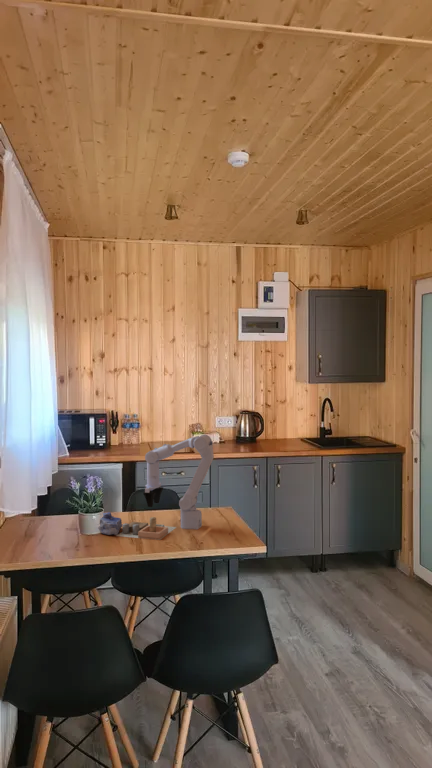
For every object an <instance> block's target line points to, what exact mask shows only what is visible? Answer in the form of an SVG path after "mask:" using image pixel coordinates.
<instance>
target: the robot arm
mask: <svg viewBox="0 0 432 768" xmlns="http://www.w3.org/2000/svg"><path fill="white" fill-rule="evenodd" d="M185 448H186V449H187V448H191V449H195V450H196V451H197V452H198V453H199V454H200V457H201V459H200V460H199V461H200V463H199V464H198V466H197V468H196V470H195V473H194V475H193V477H192V479H191V482H190V483H189V485H188V488H187V489H186V491H185V493H184V495H183V496H182V497H181V498H180V499H179V500H178V506H179V509H180V528H181V529H183V530H199V529H200V528H201V527H202V524H203V523H202V520H203V519H202V518H203V517H202V511H201V509H197V507H196V504H197V503H198V496H199V491H200V488H201V486H202V484H203V482H204V481H205V477H206V476H207V473H208V472H209V469H210V467H211V464H212V462H213V460H214V454H215V453H214V443H213V441H212V438H211V437H210V435H208V434H201V435H198V436H197V435H196V436H193V437H189V438H186V439H184V440H182V441H180V442H177V443H175V444H172V445H171V444H170V443H168V444H167V443H164V444H162V446H160V447H155V448H154V449H152V450H149V451H148V452H146V453H145V456H144V459H145V461H146V484H145V485H144V487H145V488H144V491H143V492H142V494H143V496H144V498H145V501H146V505H147V508H152V507H154V504H159V503H160V500H161V496H162V492H163V491H164V487H163V486H162V482H161V481H160V463H159V462H160V461H162V460H165V459H168V458H171V457H172V456H174V454H175V452H178V451H180V450H183V449H185Z"/></svg>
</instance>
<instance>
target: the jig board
mask: <svg viewBox="0 0 432 768" xmlns="http://www.w3.org/2000/svg"><path fill="white" fill-rule="evenodd" d="M129 524H130V523H126V522H125V523H123V524H122V527H121V528H122V532H119V533H118V535H115V537H122V538H123V537H124V538H133V539H134V538H135V539H139V538H138V532H139V531H140V525H139V524H134V525H133V533H131V532H129ZM148 526H150V524H148ZM156 526H159V527H168V533H167V534H166V535H165V536H163V537H162V538H161V539H155V540H159V541H161V540H162V539H163V538H165V537H166V536H167V535H169V534H170V533H172V532H173V531H174V530H175V529H177V526H166V525H165V524H157V523H156ZM144 539H146V540H151V539H150V538H143V540H144Z"/></svg>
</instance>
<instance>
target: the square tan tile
mask: <svg viewBox="0 0 432 768" xmlns="http://www.w3.org/2000/svg"><path fill="white" fill-rule="evenodd" d="M128 524H129V532H131V533H133V525H134V524H139V525H140V530H142V529H143V528H145V527H146V526H148V525H149V523H148V522H140V521H131V522H130V523H128Z"/></svg>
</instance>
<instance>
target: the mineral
mask: <svg viewBox="0 0 432 768" xmlns="http://www.w3.org/2000/svg"><path fill="white" fill-rule="evenodd" d="M102 514H103V517H102V518H101V517H100V518H99V524H100V526H98V528H97V529H98V530H99V532H101V533H100V534H103V535H108V536H111V535H114V536H116V535H118V534H120V530H122V528H123V527H122V523H123V522H122V518H121V517H115V516H113V515H112V513H111V511H107V512H102Z"/></svg>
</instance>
